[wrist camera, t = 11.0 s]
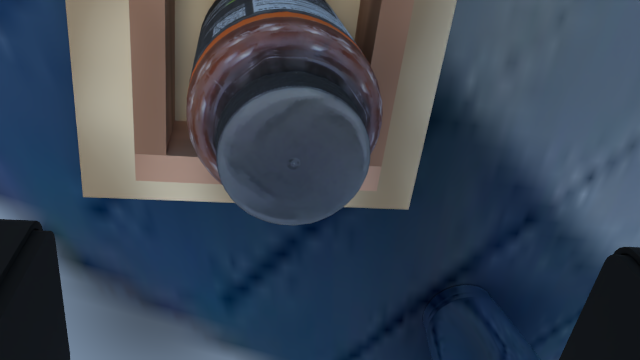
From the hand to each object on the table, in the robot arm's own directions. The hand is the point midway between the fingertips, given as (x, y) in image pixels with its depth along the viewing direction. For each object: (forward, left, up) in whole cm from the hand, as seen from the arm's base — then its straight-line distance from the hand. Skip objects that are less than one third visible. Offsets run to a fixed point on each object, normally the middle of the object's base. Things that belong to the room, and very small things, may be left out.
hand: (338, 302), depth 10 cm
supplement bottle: (0, 0, -17) cm, 17 cm away
